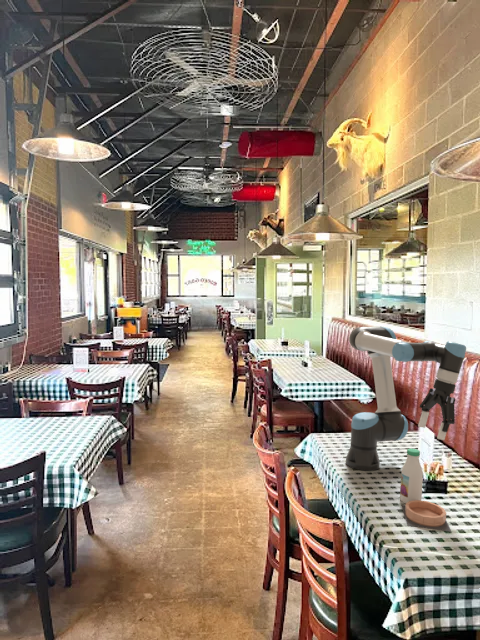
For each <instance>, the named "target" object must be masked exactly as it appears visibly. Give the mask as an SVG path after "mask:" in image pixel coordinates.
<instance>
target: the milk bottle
mask: <svg viewBox="0 0 480 640" xmlns="http://www.w3.org/2000/svg"><path fill="white" fill-rule="evenodd" d="M420 454H421V451H420V450H419V449H417V448H408V449H407V451H406V456H407V457H406V459H405V462H404V464H403V465H402V467H401V475H400V487H399V499H400V501H401V502H402V503H404V504H406V503H407V502H409V501H414V500H421V501H422V498H423V497H422V495H423V494H422V493H423V482H424V481H423V476H424V473H423V467H422V465H421V462H420V457H421V456H420Z"/></svg>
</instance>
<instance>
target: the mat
mask: <svg viewBox="0 0 480 640" xmlns="http://www.w3.org/2000/svg"><path fill="white" fill-rule="evenodd" d="M400 506H401V509H402V513H403V515H404V518H405V522H406V526H407V527H413V528H420V529H421V528H422V529H427V530H436V531H442V532H453V531H452V529H451V528H450V526H449V523H448V521H447V519H446V520H445V524H444V525H442V526H439V527H429V526H423V525H420V524H417V523H415V522H413V521H411V520H409V519H408V518H407V517H406V511H405V504H400Z"/></svg>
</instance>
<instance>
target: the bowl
mask: <svg viewBox="0 0 480 640" xmlns="http://www.w3.org/2000/svg"><path fill="white" fill-rule="evenodd" d="M404 505H405V511H406V517H407V518H408V519H409V520H411V521H413V522H415V523H417V524H420V525H423V526H429V527H439V526H442V525H444V524H445V520H446V521H447V511H446V509H445V508H443V507H442V506H441V505H438V504H437V503H434V502H430V501H427V500H422V499H421V500H414V501H409V502H407V503H404Z"/></svg>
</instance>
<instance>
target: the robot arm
mask: <svg viewBox="0 0 480 640" xmlns="http://www.w3.org/2000/svg"><path fill="white" fill-rule="evenodd" d="M348 341H349V344H350V346H351V347H352V348H353V350H356V351H361V352H366V351H367V356H368V357H369V358H370V359H371V364H372V371H373V380H374V386H375V387H374V389H375V396H376V403H377V405H376V406H377V409H376V411H374V412H367V411H365V412H363V411H362V412H358V413H356V414H354V415H353V416H352V420H351V423H350V426H351V431H350V447H349V448H348V449H349V450H348V451H347V454H346V457H345V464H346V465H347V466H348V467H350V468H352V469H355V470H358V471H359V470H360V471H365V472H366V471H368V472H370V471H372V472H373V471H376V470H379V469H380V468H381V467H380V466H381V465H380V464H381V462H380V458H379V454H378V451H377V448H378V442H379V443H381V442H396V441H399V440H403V439H405V437H406V435H407V434H408V432H409V423H408V419H407V418H406V416H405V415H403V414H402V411H401V409H399V407H398V406H397V400H396V399H397V397H396V392H395V383H394V376H393V371H392V370H393V369H392V360H391V358H393V359H394V360H395V361H396V362H402V363H407V362H435V363H438V364H439V366H438V370H437V372H436V377H435V378H436V379H435V380H434V384H433V388H429V390H428V393H426V396H425V397H424V398H423V400H422V402H421V403H420V404H419V408H421V414H420V418H419V421H418V424H417V427H420V428H422V429H423V428H424V429H425V428H426V425H427V422H428V418H429V416H430V411H431V410H432V408H434V407H435V406H436V405H437V404H438V405H439V407H440V410H441V415H442V421H441V424H440V426H439V429H438V433H437V437H436V439H438V440H441V441H445V439H446V435H447V434H448V431H449V428H450V425H455V423H456V421H455V420H456V419H455V415H456V414H455V412H456V411H455V403H456V398H455V397H452V396H451V394H454V393H455V389H456V383H457V382H458V379H459V375H460V372H461V369H462V366H463V362H464V360H465V357H466V356H465V355H466V352H467V347H466V346H467V345H464V344H461V343H457V342H454V341H453V342H452V341H449V340H448V341H447V342H446V343H445V344H442V343H439V342H435V341H430V340H425V341H423V342H409V341H405V340H404V341H403V340H400V339H397V336H396V334H395V332H394V331H393V330H392V329H391V328H390V327H387V326H359V327H356V328H354V329H353V330H352V331H351V332H350V334H349V338H348Z"/></svg>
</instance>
